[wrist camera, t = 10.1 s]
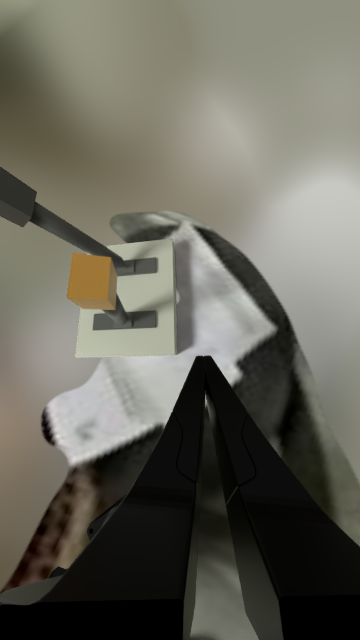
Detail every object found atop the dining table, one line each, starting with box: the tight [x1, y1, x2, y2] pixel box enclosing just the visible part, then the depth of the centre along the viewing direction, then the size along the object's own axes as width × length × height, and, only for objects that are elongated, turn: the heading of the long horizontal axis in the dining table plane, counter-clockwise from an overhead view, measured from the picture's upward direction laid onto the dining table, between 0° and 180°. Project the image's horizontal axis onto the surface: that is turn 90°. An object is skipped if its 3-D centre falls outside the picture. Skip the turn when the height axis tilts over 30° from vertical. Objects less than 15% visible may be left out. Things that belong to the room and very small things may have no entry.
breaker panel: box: [0, 167, 178, 358], centre depth 15 cm, size 16×13×14 cm
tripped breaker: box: [67, 253, 128, 325], centre depth 13 cm, size 2×2×11 cm
